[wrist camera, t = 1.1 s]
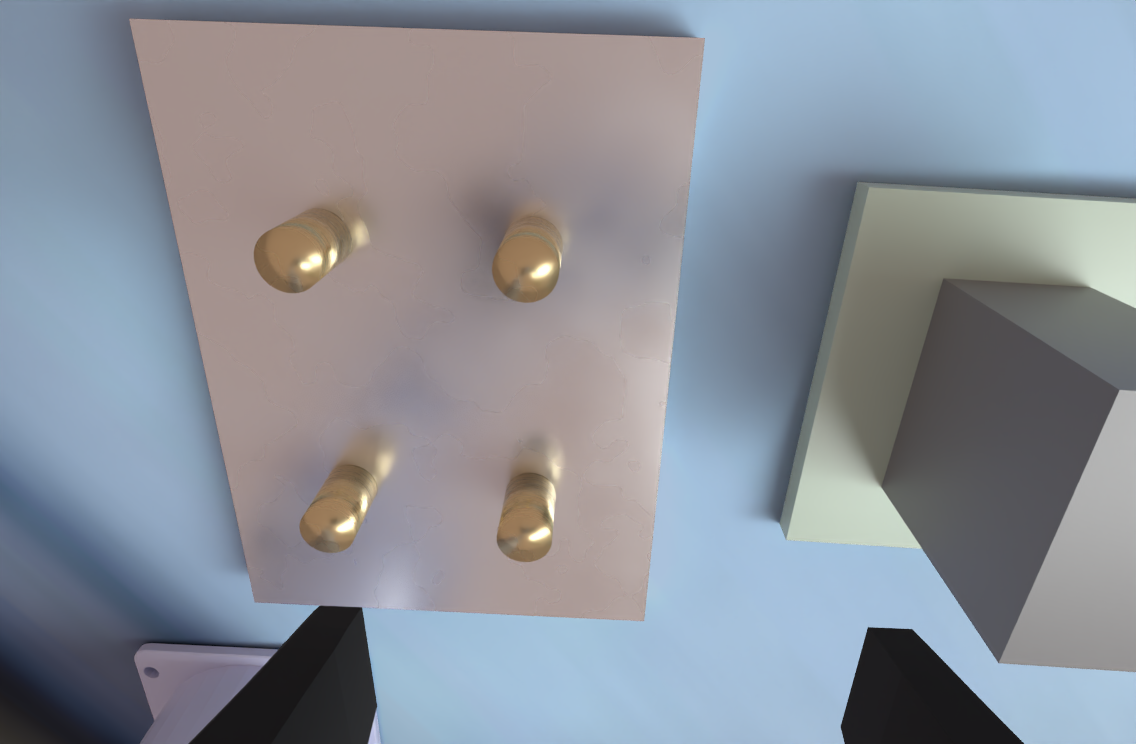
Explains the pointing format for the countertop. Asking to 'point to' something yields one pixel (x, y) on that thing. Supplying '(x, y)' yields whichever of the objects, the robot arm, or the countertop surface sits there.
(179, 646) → the robot arm
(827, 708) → the countertop surface
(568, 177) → the plate
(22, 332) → the countertop surface
